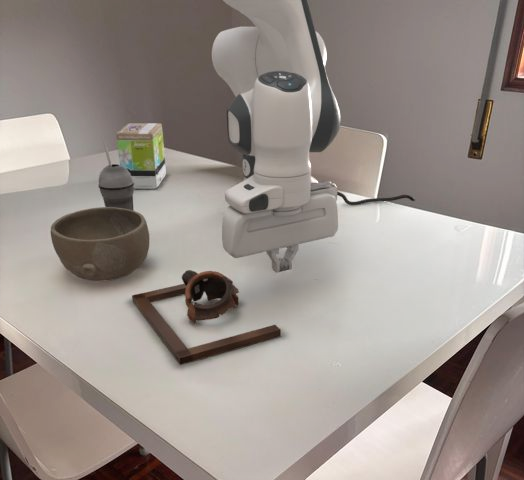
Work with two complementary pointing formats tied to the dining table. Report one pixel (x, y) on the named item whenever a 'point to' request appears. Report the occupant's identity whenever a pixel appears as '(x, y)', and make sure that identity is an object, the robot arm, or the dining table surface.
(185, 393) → the dining table surface
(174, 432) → the dining table surface
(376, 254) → the dining table surface
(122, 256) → the bowl
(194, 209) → the dining table surface
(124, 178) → the beverage cup
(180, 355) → the frame
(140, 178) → the tea box
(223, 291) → the broken brown mug
